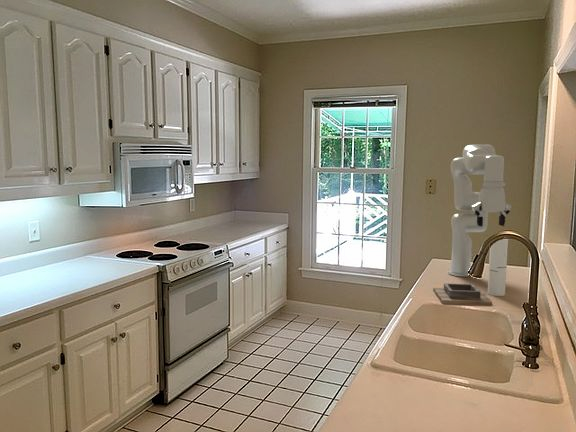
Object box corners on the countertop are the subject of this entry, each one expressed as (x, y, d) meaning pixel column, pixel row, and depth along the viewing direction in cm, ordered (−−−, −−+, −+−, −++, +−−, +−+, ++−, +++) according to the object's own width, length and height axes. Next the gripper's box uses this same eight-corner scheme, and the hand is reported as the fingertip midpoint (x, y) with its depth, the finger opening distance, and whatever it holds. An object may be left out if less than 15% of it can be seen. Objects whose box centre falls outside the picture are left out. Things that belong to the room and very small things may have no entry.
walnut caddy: (433, 290, 225) (433, 280, 225) (478, 292, 223) (479, 282, 223) (442, 303, 206) (442, 293, 205) (492, 305, 203) (492, 294, 203)
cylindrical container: (506, 296, 216) (509, 239, 213) (489, 295, 218) (492, 239, 215) (502, 292, 223) (506, 237, 220) (486, 291, 225) (489, 236, 222)
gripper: (507, 184, 212) (505, 224, 215) (469, 184, 210) (467, 224, 212) (517, 185, 205) (514, 226, 207) (477, 186, 203) (475, 227, 205)
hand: (490, 225), depth 210 cm, fingers open, 9 cm apart
